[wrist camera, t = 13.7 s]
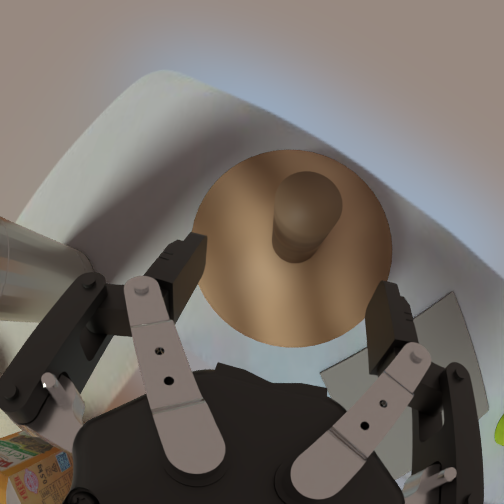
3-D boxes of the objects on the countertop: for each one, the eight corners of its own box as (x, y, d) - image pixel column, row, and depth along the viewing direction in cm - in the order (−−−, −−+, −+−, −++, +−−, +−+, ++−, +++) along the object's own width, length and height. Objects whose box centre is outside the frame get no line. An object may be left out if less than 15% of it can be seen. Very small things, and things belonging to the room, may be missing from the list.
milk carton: (79, 439, 27) (-24, 491, 8) (103, 503, 25) (28, 571, 6) (27, 428, 27) (-67, 457, 8) (49, 488, 25) (-28, 533, 6)
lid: (243, 379, 22) (230, 416, 13) (167, 201, 25) (124, 148, 16) (417, 288, 22) (482, 272, 14) (329, 132, 26) (350, 65, 17)
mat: (373, 490, 24) (374, 491, 24) (319, 372, 28) (320, 373, 28) (487, 409, 25) (488, 410, 25) (451, 291, 29) (453, 291, 28)
